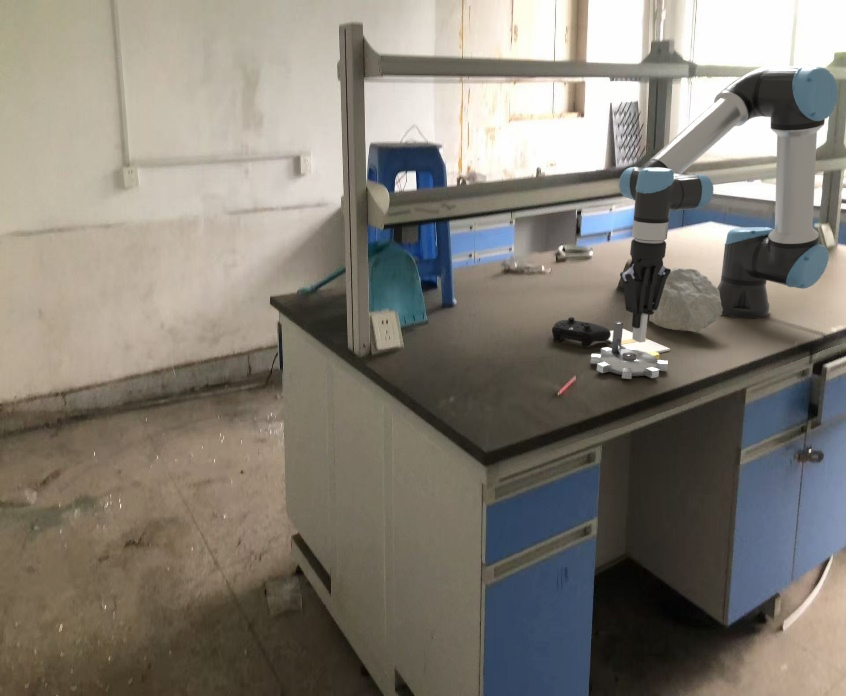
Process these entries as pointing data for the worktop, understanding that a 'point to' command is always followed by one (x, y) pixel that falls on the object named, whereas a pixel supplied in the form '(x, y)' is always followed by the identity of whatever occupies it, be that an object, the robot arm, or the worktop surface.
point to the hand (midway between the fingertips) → (638, 340)
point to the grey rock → (687, 302)
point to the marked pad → (643, 346)
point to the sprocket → (627, 359)
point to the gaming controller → (579, 331)
